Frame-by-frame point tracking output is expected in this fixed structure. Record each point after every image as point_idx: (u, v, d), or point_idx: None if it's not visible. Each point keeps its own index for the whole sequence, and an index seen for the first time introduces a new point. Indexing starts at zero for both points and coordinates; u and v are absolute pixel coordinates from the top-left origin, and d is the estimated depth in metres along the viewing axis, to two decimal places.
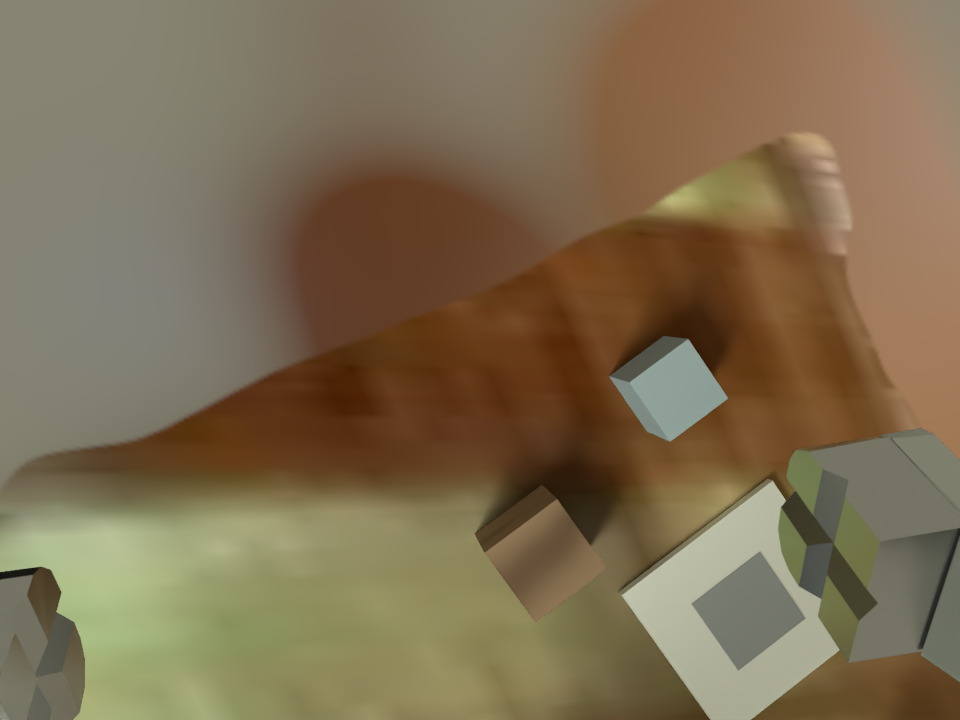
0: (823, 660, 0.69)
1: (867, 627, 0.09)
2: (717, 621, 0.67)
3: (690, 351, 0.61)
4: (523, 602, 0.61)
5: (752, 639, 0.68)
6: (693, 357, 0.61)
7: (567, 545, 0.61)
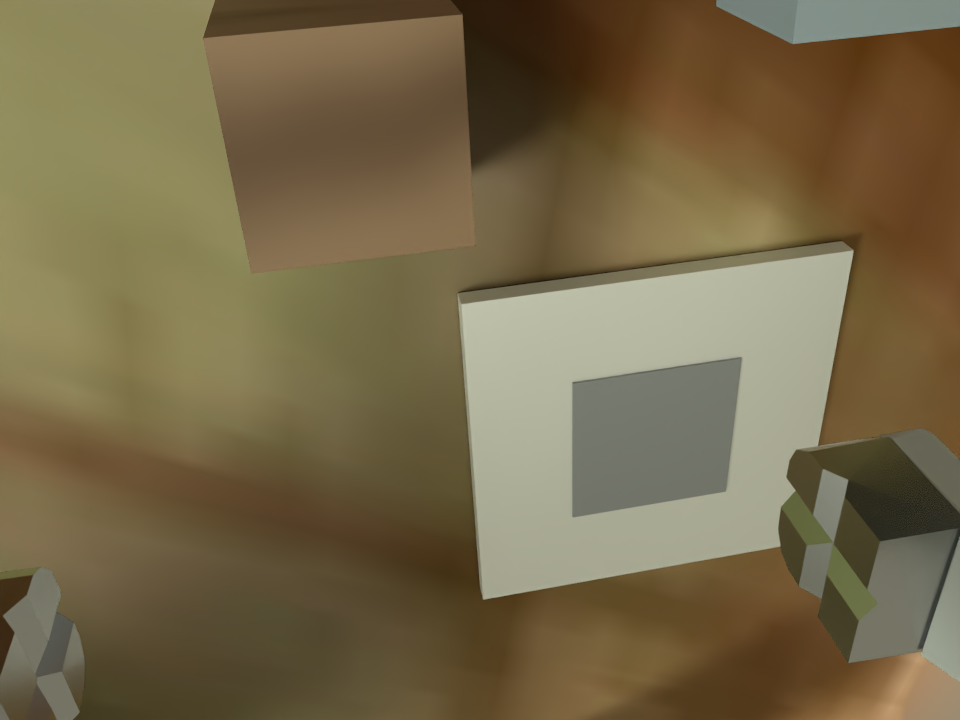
0: (702, 557, 0.39)
1: (865, 627, 0.09)
2: (594, 430, 0.34)
3: None
4: (244, 215, 0.23)
5: (626, 484, 0.36)
6: None
7: (420, 143, 0.23)
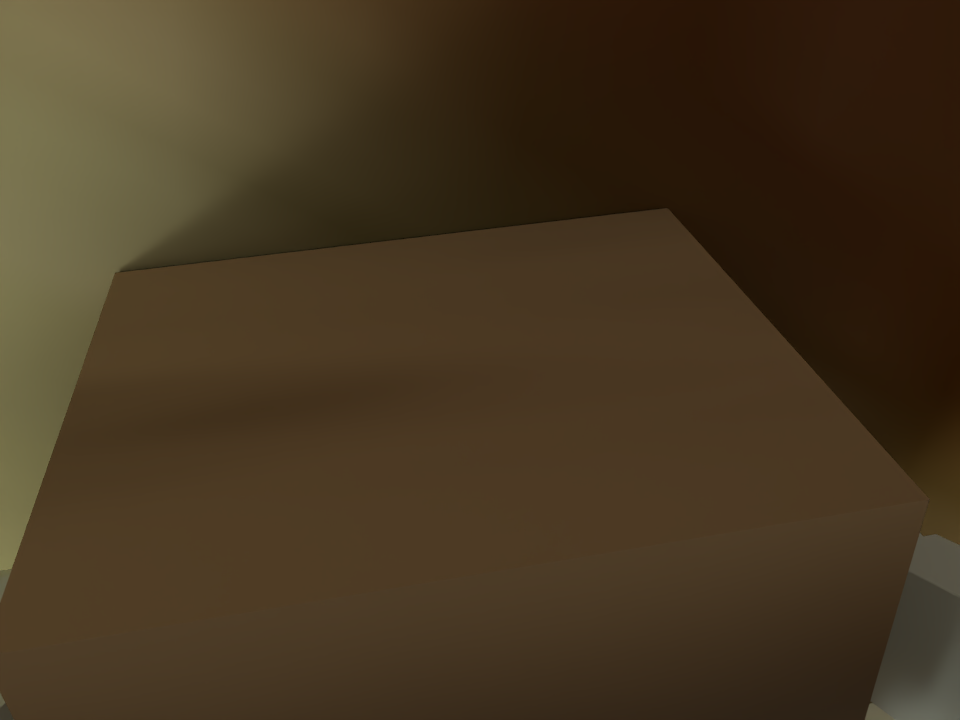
0: None
1: None
2: None
3: None
4: None
5: None
6: None
7: None
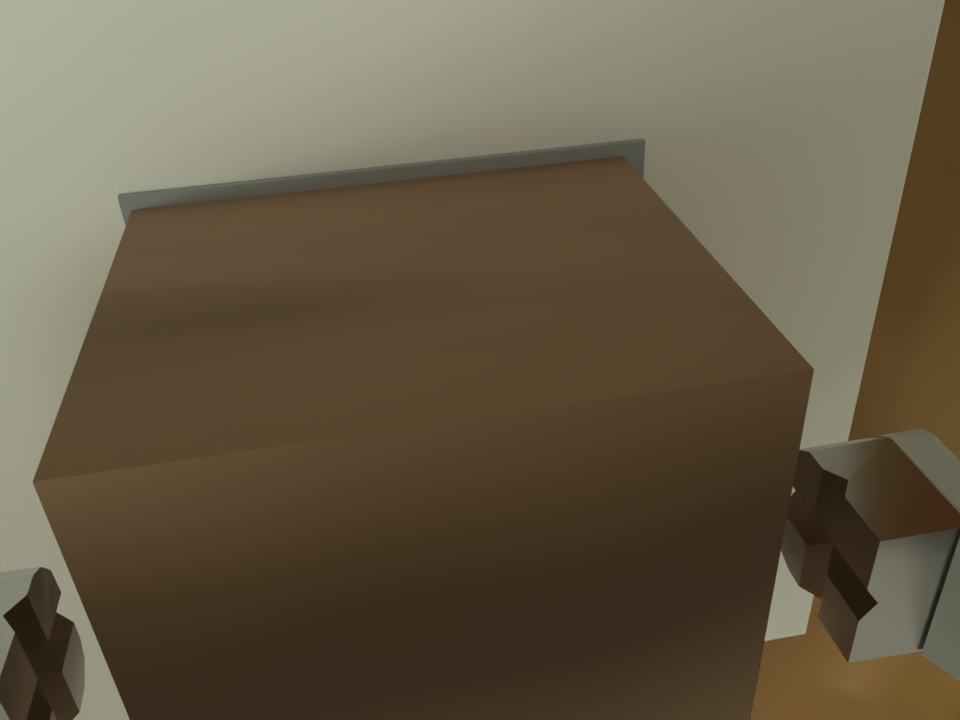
0: None
1: (865, 627, 0.09)
2: None
3: None
4: None
5: None
6: None
7: (644, 645, 0.09)
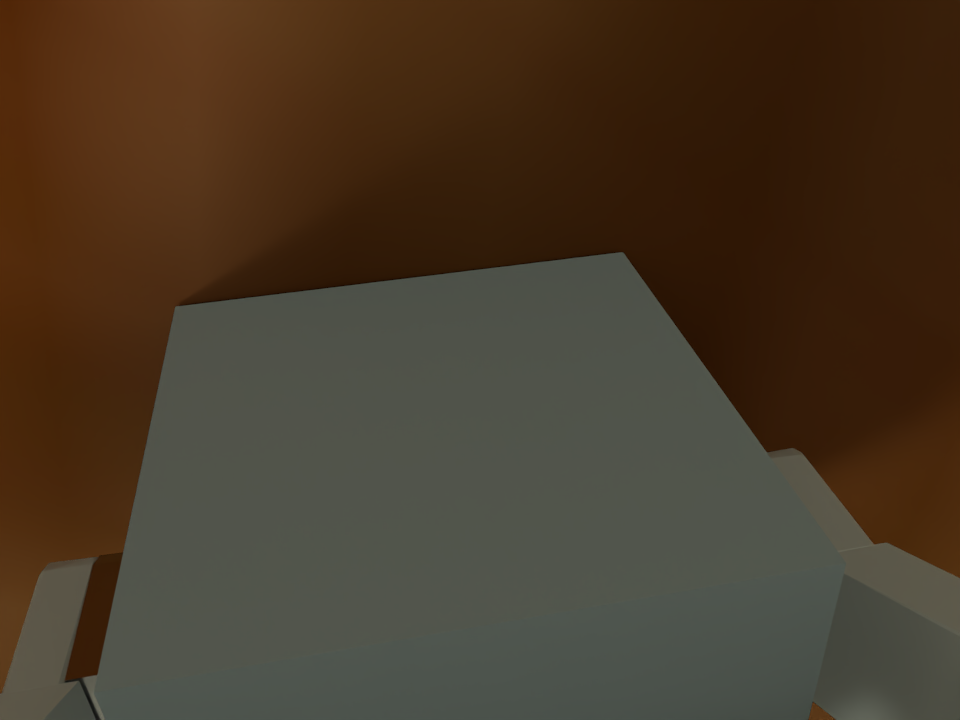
0: None
1: None
2: None
3: (782, 649, 0.07)
4: None
5: None
6: (766, 690, 0.07)
7: None
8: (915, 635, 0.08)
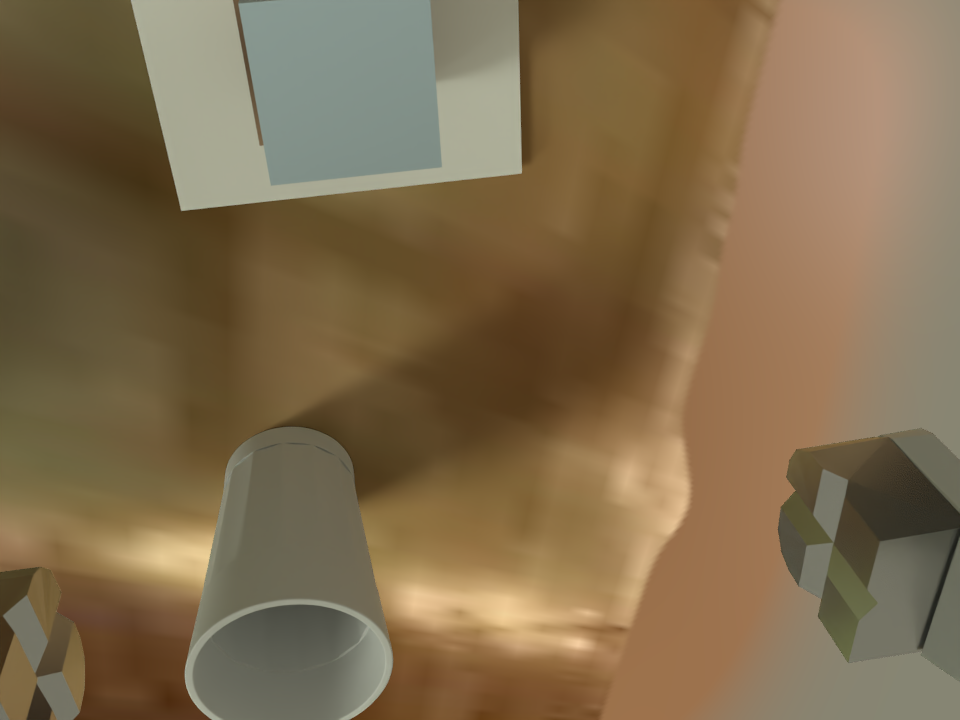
0: (416, 180, 0.38)
1: (864, 627, 0.09)
2: None
3: (418, 19, 0.25)
4: (254, 97, 0.30)
5: None
6: (417, 37, 0.25)
7: None
8: None
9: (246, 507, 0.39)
